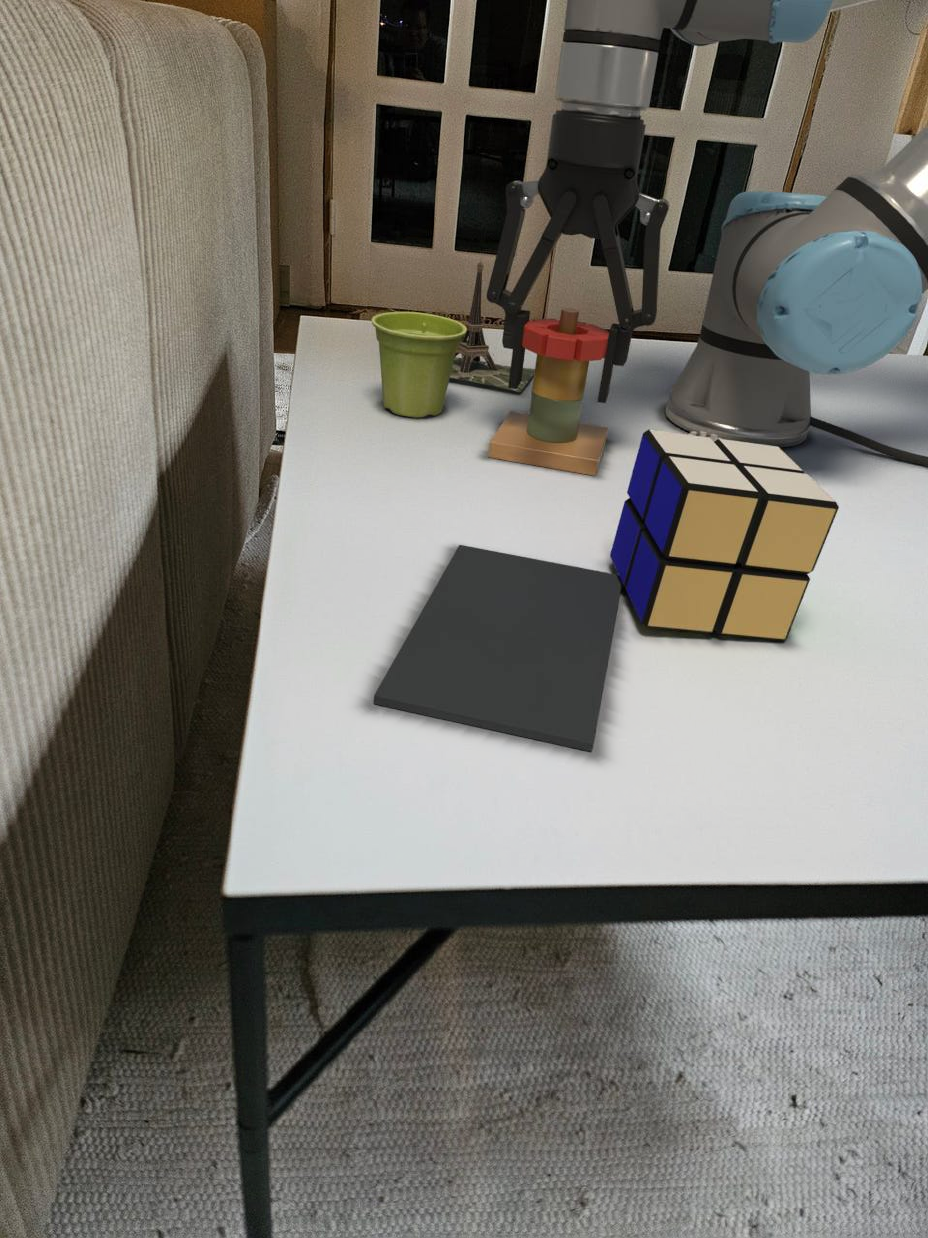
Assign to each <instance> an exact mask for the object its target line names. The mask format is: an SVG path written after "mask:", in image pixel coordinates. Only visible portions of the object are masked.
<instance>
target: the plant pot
mask: <svg viewBox="0 0 928 1238" xmlns="http://www.w3.org/2000/svg"><path fill="white" fill-rule="evenodd" d="M371 324H372V326H373V327H374V328H375V336H376V340H377V342H378V348H379V350H378V351H379V362H380V363H379V364H380V375H381V376H380V378H381V392H382V404H383V407H384V409H389V410H390V411H391V412H392V413H393V414H395V415H398V416H403V417H410V418H416V419H417V418H424V417H426V416H428V415H432V416H434V417H435V416H439V415H440V414H441V413H442V411H443V409H444V405H445V401H446V395H447V390H448V387H449V382H450V379H451V378H450V374H451V370H452V366H453V362H454V358H455V354H456V350H457V349H458V348H459V346H460V342H461V339H462V337H463V336H464V335H465V334H466V331H467V328H466V325H464V324H463V323H462V322H460V321H458V320H455V319H452V318H449V317H446V316H442V315H437V314H431V313H426V312H416V311H390V312H382V313H378V314H376V315H374V316H372V318H371Z"/></svg>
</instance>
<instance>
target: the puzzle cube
mask: <svg viewBox="0 0 928 1238" xmlns="http://www.w3.org/2000/svg"><path fill="white" fill-rule="evenodd" d="M626 493H627V495H628V498H626V499H625V500H624V502H623V506H622V510H621V513H620V517H619V520H618V525H617V528H616V530H615V531H616V532H615V535H614V539H613V541H612V542H613V543H612V547H611V551H610V554H609V557H610V560H611V561H612V564H613V566H614V568H615V570H616V572H617V575H619V576H620V578H621V580H622V586H624V587H625V591H626V594H627V595H628V597H629V600H630V602H631V604H632V606H633V608H634V610H635V612H636V614H637V616H638V618H639V621H640V623H641V624H642V626H643V627H644V628H645V629H656V630H658V629H659V630H666V631H667V630H668V631H678V632H689V633H697V634H707V635H708V634H712V633H713V632H714V631H715V632H716V633H717V636H727V637H737V638H748V639H759V640H769V641H778V642H779V641H780V642H782V641H785V640H786V639H787V638H788V637H789V635H790V632H791V629H792V627H793V623H794V621H795V618H796V616H797V614H798V612H799V608H800V607H801V604H802V601H803V599H804V597H805V594H806V592H807V588H808V586H809V583H810V581H811V577H810V575H809V574H810V573H812V572H813V571H814V570H815V568H816V565H817V563H818V561H819V558H820V556H821V553H822V550H823V548H824V546H825V544H826V540H827V538H828V536H829V533H830V531H831V529H832V526H833V523H834V521H835V519H836V517H837V514H838V511H839V508H840V506H839V505H838V502H837V501H836V500H835V499H834V498H833V497H832V496H831V495H829V493H828V492H826V491H825V489H823V488H822V487H821V486H820V485H819V484H818V483H817V482H816V481H815V480H814V479H813V478H812V477H811V476H810V475H809V474H808V473H805V472H804V469H802V468H801V467H800V466H799V465H798V464H797V463H796V462H795V461H794V460H793V459H792V458H791V457H790V456H789V455H788V454H786V453H785V451H783V450H782V449H781V447H777V446H769V445H762V444H755V443H747V442H740V441H732V440H725V439H717V440H716V441H714V442H713V441H712V440H711V438H709V437H702V436H699V435H696V436H694V435H688V433H687V434H686V433H679V432H671V431H666V430H665V431H663V430H658V429H657V430H656V429H647V430H646V431H644V432H642V436H641V438H640V443H639V447H638V450H637V454H636V457H635V462H634V465H633V469H632V472H631V476H630V479H629V484H628V487H627V491H626Z"/></svg>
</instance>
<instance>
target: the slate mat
mask: <svg viewBox="0 0 928 1238" xmlns="http://www.w3.org/2000/svg"><path fill="white" fill-rule="evenodd" d="M622 586H623V583H622V580H621V578H620V576H619V574H617V573H610V572H604V571H599V570H595V569H589V568H584V567H579V566H573V565H568V564H564V563H558V562H553V561H548V560H542V559H537V558H532V557H526V556H522V555H516V554H511V553H505V552H500V551H495V550H489V549H486V548H485V549H484V548H479V547H473V546H468V545H463V544H458V546H457V548H456V550H455V552H454V553H453V556H452V557H451V559H450V561H449V563H448V564H447V565H446V567H445V569H444V571H443V573H442V575H441V576H440V579H439V580H438V582H437V583H436V585H435V586H434V589H433V591H431V592H432V593H431V594H430V596H429V597H428V600H427V601H426V603H425V605H424V606H423V608H422V610H421V612H420V614H419V615H418V617H417V619H416V620H415V622H414V623H413V626H412V627H411V630H410V631H409V633H408V635H407V636H406V638H405V640H404V641H403V643H402V645H401V646H400V649H399V651H398V653H397V654H396V656H395V657H394V659H393V661H392V663H391V665H390V666H389V669H387V672H386V673H385V675H384V676H383V678H382V680H381V683H380V684H379V686H378V688H377V689H376V690H375V693H374V694H373V704H374V705H378V706H383V707H387V708H391V709H396V710H401V711H405V712H410V713H414V714H415V713H416V714H419V715H424V716H428V717H431V718H436V719H442V720H446V721H450V722H454V723H459V724H463V725H464V724H465V725H469V726H474V727H478V728H482V729H487V730H490V731H496V732H500V733H503V734H504V733H505V734H510V735H512V736H513V735H514V736H518V737H523V738H528V739H531V740H536V741H541V742H544V743H545V742H546V743H551V744H554V745H559V746H563V747H564V746H565V747H568V748H571V749H572V748H573V749H578V750H581V751H587V752H592V751H593V747H594V742H595V736H596V732H597V726H598V719H599V715H600V709H601V703H602V698H603V697H602V696H603V692H604V687H605V680H606V676H607V669H608V664H609V659H610V653H611V648H612V643H613V642H612V641H613V636H614V629H615V626H616V625H615V624H616V619H617V613H618V608H619V602H620V597H621V592H622Z"/></svg>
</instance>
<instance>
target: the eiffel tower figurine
mask: <svg viewBox="0 0 928 1238" xmlns="http://www.w3.org/2000/svg"><path fill="white" fill-rule="evenodd" d="M482 256H483V252H481V254H480V259H482V258H483V257H482ZM476 264H477V266H476V270H477V271H476V278H475V284H474V288H473V289H474V291H473V295H472V300H471V301H472V302H471V307H470V311H469V316H468V319H467V321H466V322H465V324H466V325H465V326H466V328H467V331H466V334H465V335H464V336H463V337H462V339H461V342H460V346H459V348H458V349H457V350H456V354H455V358H454V362H453V366H452V370H451V374H450V379H455V380H460V381H461V380H462V381H467V382H472V383H475V384H482V385H487V386H491V387H494V388H495V387H496V388H500V389H504V390H507V391H511V392H516V393H517V392H518V393H521V392H522V391H523V390H524V389H525V387H526V386H527V384H528V383H529V381H530V380H531V379H532V377H534V373H535V368H531V367H529V368H528V367H523V371H522V379H521V383H520V384H519V386H518V387H517V388H516V389H512V388H508V385H509V377H510V368H511V365H510V366H509V365H502V364H498V363H495V361H494V360H493V358H492V355H491V353H490V352H489V347H490V346H489V345H488V344H486V340H485V336H484V330H483V327H484V324H483V323H482V322H483V321H482V289H483V288H482V287H483V285H482V283H483V270H484V263H483V262H482V260H480V261H479V262H478V263H476ZM458 355H461V357H457V356H458ZM481 357H482V358H483V359H484V360H485V361H482V360H481Z"/></svg>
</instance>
